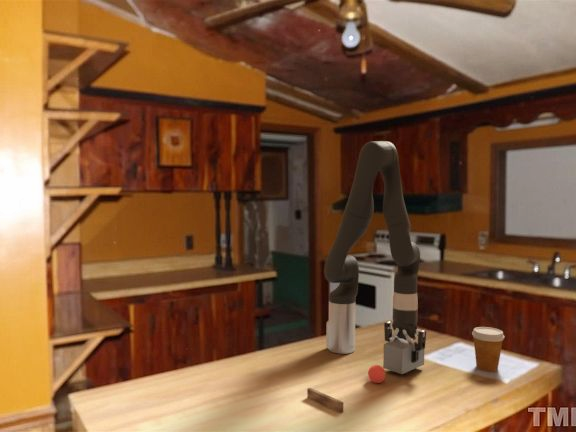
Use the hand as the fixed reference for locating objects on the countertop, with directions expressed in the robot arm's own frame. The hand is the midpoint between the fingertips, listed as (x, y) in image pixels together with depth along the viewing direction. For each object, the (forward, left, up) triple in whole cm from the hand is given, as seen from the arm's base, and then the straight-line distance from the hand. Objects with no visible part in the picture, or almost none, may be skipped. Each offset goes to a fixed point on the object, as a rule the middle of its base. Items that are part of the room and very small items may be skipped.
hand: (404, 358), depth 151 cm
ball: (0, -14, -1) cm, 14 cm away
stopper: (0, -36, -4) cm, 36 cm away
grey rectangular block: (0, 0, -2) cm, 2 cm away
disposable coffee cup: (+16, +22, -4) cm, 28 cm away
